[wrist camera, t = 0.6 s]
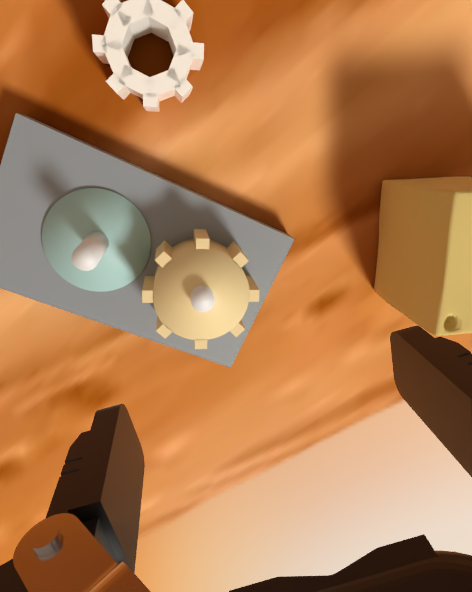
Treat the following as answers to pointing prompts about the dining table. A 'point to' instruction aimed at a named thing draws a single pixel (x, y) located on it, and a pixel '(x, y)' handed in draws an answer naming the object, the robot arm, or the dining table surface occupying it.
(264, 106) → the dining table surface
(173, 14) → the nylon gear
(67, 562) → the robot arm
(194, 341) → the gear board
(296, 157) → the dining table surface
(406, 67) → the dining table surface
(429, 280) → the cheese
